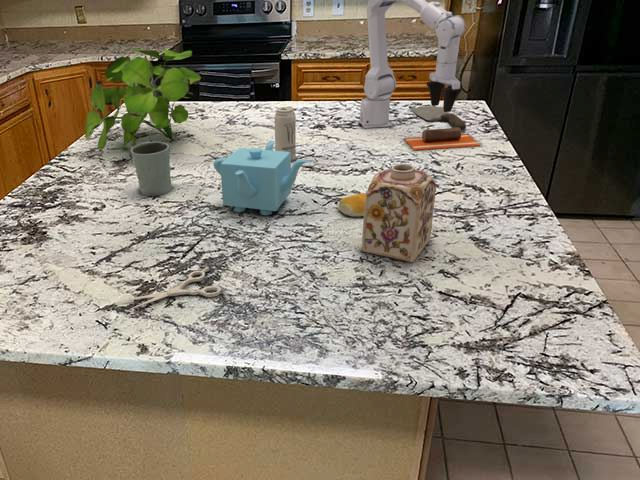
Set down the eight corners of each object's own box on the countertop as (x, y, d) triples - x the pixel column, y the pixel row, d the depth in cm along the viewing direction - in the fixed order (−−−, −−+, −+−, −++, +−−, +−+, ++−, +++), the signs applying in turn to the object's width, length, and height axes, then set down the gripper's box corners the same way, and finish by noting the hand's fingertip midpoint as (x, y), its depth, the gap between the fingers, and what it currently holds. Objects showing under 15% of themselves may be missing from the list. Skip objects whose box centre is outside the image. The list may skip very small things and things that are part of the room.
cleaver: (472, 130, 195) (473, 123, 194) (443, 133, 194) (444, 126, 193) (434, 108, 220) (434, 102, 219) (408, 110, 219) (408, 104, 218)
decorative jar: (413, 264, 125) (422, 181, 115) (360, 252, 130) (364, 172, 121) (431, 240, 133) (441, 161, 123) (380, 230, 138) (386, 154, 129)
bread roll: (383, 210, 148) (384, 195, 146) (355, 220, 144) (356, 204, 142) (359, 200, 154) (360, 185, 152) (332, 209, 150) (333, 194, 148)
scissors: (229, 288, 119) (131, 317, 112) (229, 292, 119) (132, 320, 112) (207, 266, 127) (115, 291, 120) (208, 269, 127) (116, 295, 120)
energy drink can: (285, 164, 178) (284, 113, 170) (271, 160, 182) (270, 109, 174) (299, 159, 182) (299, 108, 174) (285, 155, 186) (284, 105, 178)
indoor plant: (217, 140, 179) (158, 49, 163) (109, 199, 195) (45, 121, 179) (231, 85, 212) (182, 5, 197) (137, 139, 228) (86, 69, 213)
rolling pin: (424, 144, 187) (426, 135, 184) (421, 137, 189) (423, 127, 187) (459, 141, 188) (462, 132, 185) (455, 134, 190) (458, 125, 187)
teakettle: (211, 200, 159) (206, 145, 151) (275, 186, 164) (274, 132, 157) (240, 228, 144) (236, 168, 136) (309, 211, 150) (310, 153, 142)
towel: (414, 150, 183) (414, 149, 182) (404, 139, 192) (404, 138, 192) (480, 146, 183) (480, 144, 183) (466, 135, 192) (466, 133, 192)
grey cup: (180, 185, 169) (175, 143, 162) (161, 199, 161) (156, 155, 155) (149, 181, 173) (143, 140, 166) (129, 194, 165) (123, 151, 159)
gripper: (422, 58, 184) (417, 104, 191) (446, 67, 172) (440, 115, 179) (443, 56, 185) (438, 101, 193) (469, 65, 173) (462, 113, 181)
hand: (440, 108), depth 186 cm, fingers open, 7 cm apart
